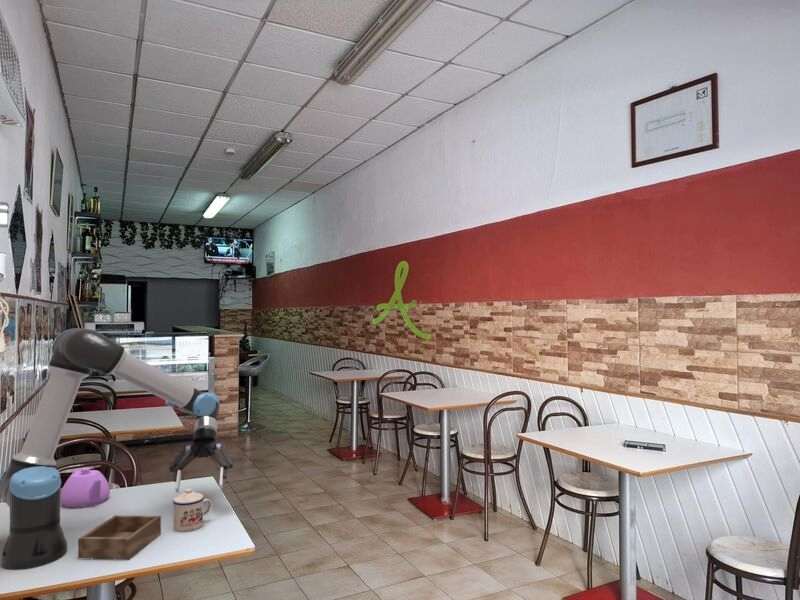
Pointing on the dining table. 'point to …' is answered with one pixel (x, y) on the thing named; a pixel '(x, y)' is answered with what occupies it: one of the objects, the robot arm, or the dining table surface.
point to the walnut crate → (119, 537)
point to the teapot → (84, 488)
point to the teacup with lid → (189, 511)
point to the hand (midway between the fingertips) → (199, 488)
